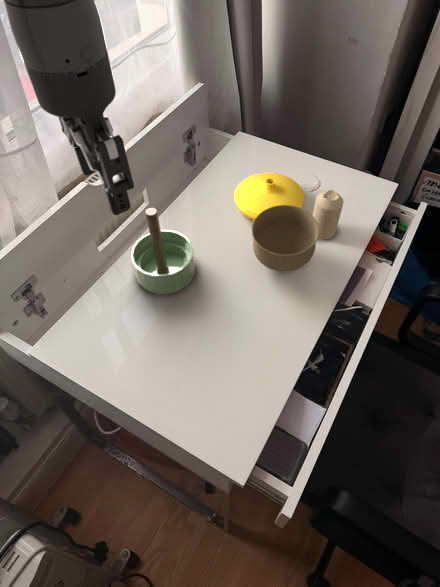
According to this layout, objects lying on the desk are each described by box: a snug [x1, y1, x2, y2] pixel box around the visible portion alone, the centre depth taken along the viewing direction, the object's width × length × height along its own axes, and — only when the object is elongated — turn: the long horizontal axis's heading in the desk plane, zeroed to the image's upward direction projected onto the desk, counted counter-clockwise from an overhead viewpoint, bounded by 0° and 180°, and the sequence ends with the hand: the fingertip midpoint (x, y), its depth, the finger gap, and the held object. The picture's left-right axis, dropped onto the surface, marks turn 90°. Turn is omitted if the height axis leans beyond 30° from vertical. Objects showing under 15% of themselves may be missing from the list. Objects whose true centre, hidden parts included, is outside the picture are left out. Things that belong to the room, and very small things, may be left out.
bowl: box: [251, 205, 319, 273], centre depth 85 cm, size 13×13×10 cm
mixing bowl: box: [130, 229, 196, 295], centre depth 86 cm, size 12×12×6 cm
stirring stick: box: [145, 207, 169, 274], centre depth 81 cm, size 2×2×16 cm
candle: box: [312, 189, 344, 240], centre depth 90 cm, size 6×6×10 cm
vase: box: [233, 171, 305, 221], centre depth 97 cm, size 16×16×7 cm
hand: (106, 190), depth 52 cm, fingers open, 8 cm apart
